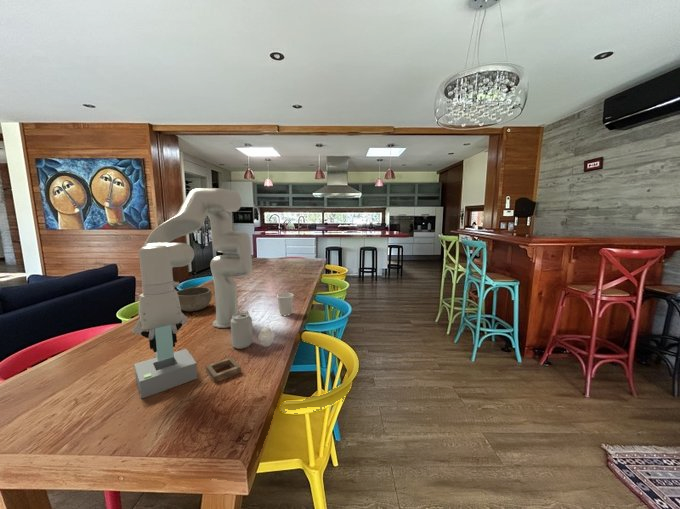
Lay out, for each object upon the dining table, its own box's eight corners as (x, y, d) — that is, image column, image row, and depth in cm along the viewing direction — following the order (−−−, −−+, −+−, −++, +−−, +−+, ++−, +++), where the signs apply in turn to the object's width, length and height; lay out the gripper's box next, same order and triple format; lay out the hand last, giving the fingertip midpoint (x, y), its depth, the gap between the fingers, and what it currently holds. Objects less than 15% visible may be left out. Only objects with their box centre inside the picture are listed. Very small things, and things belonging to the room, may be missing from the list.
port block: (187, 362, 91) (186, 347, 90) (197, 378, 82) (196, 361, 82) (135, 379, 82) (134, 362, 81) (141, 398, 73) (139, 380, 72)
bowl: (202, 314, 136) (201, 295, 135) (167, 314, 137) (165, 295, 135) (218, 303, 153) (217, 286, 152) (187, 303, 154) (185, 286, 152)
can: (256, 342, 106) (255, 312, 105) (244, 351, 99) (242, 319, 98) (240, 339, 109) (239, 310, 107) (227, 347, 102) (225, 317, 100)
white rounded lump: (276, 346, 103) (276, 328, 102) (260, 350, 100) (260, 332, 99) (272, 339, 108) (271, 323, 107) (256, 343, 105) (255, 326, 104)
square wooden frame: (231, 362, 91) (231, 357, 91) (241, 372, 85) (240, 366, 85) (206, 371, 86) (205, 365, 86) (214, 383, 80) (214, 376, 80)
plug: (171, 351, 84) (168, 317, 82) (173, 356, 81) (170, 321, 79) (155, 356, 81) (152, 321, 80) (158, 361, 78) (154, 325, 77)
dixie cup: (287, 310, 143) (287, 291, 142) (297, 314, 137) (297, 294, 136) (274, 314, 137) (273, 295, 136) (283, 318, 131) (282, 298, 130)
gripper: (187, 281, 87) (191, 335, 89) (120, 290, 75) (127, 352, 78) (193, 285, 81) (198, 343, 84) (122, 296, 70) (130, 362, 72)
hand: (163, 347), depth 81 cm, fingers closed on plug, 4 cm apart
